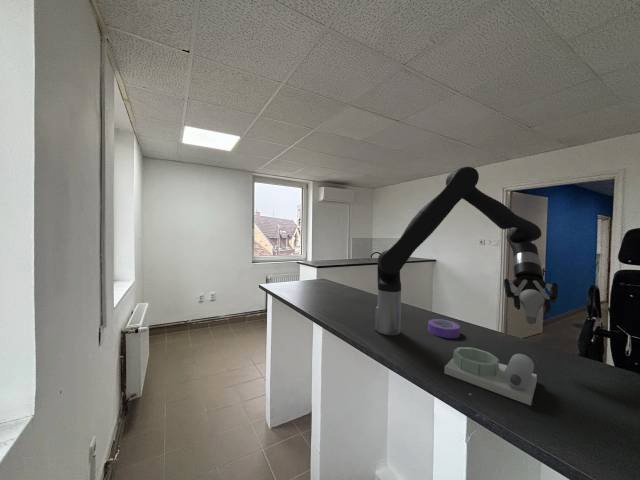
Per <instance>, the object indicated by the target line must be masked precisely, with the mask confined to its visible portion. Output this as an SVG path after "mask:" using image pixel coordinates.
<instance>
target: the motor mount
mask: <svg viewBox="0 0 640 480" xmlns="http://www.w3.org/2000/svg"><path fill="white" fill-rule="evenodd" d="M452 352H453V353H452V354H453V357H452V358H451V360H449V361H448V362H447V363H446V364H445V366H444V370H443V371H444V374H445V375H447V376H451V377H453V378H455V379H458V380H461V381H463V382H465V383H468V384H471V385H475V386H477V387H479V388H482V389H485V390H487V391H490V392H493V393H496V394H498V395H500V396H503V397H507V398H509V399H512V400H515V401H516V402H517V401H518V402H520V403H522V404H525V405H527V406H530V407H531V406H532V402H533V399H534V393H535V391H536V387H537V382H538V381H537V380H538V374H536V373H533V372H534V369H535V365H534V361H533V360H532V359H531V358H530V357H529V356H527V355H525V354H523V353H515V354H513V355H512V356H511V358H510V360H509V362H508V363H507V364H503V363H500V360H499V358H498V357H497V356H495V355H494V354H492V353H491V352H490V351H489V352H488V351H486V350H482V349H479V348H475V347H471V346H470V347H467V346H466V347H465V346H464V347H463V346H461V347H460V346H458V347H457V348H455V349H454V350H453V351H452Z"/></svg>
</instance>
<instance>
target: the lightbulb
mask: <svg viewBox="0 0 640 480" xmlns="http://www.w3.org/2000/svg"><path fill="white" fill-rule="evenodd" d="M519 298H520V305H522V307H523V311H524V315H525V322H526V323H527V324H529V325H534V324H536V323H537V317H539V316H538V315H539V311H540V310H541V309H542V307H543V305H544V302H545V299H544V297H543V295H542V294H541V293H540V292H538V291H536V290H533V289H528V290H524V291H523V292H522V293H521V294H520V296H519Z"/></svg>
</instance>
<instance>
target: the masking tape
mask: <svg viewBox="0 0 640 480" xmlns="http://www.w3.org/2000/svg"><path fill="white" fill-rule="evenodd" d="M427 327H428V328H427V331H428V332H429V334H432V335H433V336H437V337H440V338H445V339H446V338H447V339H456V338H460V335H461V326H460V324H458V323H457V322H456V321H455V322H454V321H451V320H447V319H442V318H439V319H438V318H433V319H429V320H428V323H427Z"/></svg>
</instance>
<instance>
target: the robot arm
mask: <svg viewBox="0 0 640 480" xmlns="http://www.w3.org/2000/svg"><path fill="white" fill-rule="evenodd" d="M479 180H480V179H479V172H478V170H477V169H476V168H474V167H471V166H463V167H460V168H457V169H456V170H454V171H452V172H451V173H450V174H448V176H447V177H446V179H445V187H444V188H443V190H441V192H440V193H438V195H436V196H435V197H434V198H432V199H431V200H430V201H429V202H427V204H425V205H423V207H422V208H421V209H420V210H419V211H418V212H417V213H416V215H414V217H412V219H411V220H410V222H409V223H408V225H407V226H406V228H405V229H404V231H403V233H402V235H401V237H400V238H399V239H398V240H397V241H396V242H395V243H394V244H393V245H392V246H391V247H390V248H389V249H388V250H387V249H386V250H384V251H383V252H381V253H380V254H379V256H378V257H377V276H376V277H377V278H376V279H377V305H376V306H375V309H374V310H375V311H374V313H375V315H374V330H375V331H377V332H378V333H380V334H381V335H386V336H397V335H400V334H401V312H402V307H401V306H402V282H401V270H402V268H403V267H404V266H405V265H406V263H407V261H408V260H409V259H410V257H411V256H412V255H413V253H414V252H415V251H416V250H417V249H418V248H419V247H420V246H421V245H422V244H423V243H424V242H425V241H426V240H427V239H428V238H429V237H430V236H431V235H432V234H433V233H434V232H435V231H436V229H437V228H438V227H439V226H440V225H441V223H442V222H443V221H444V220H445V219H446V217H447V216H448V215H449V214H450V212H452V210H453V209H454V207H455V206H456V205H457V204H458V203H459V202H460V201H461V200H464V201H465V202H467V203H469V204H470V205H471V206H472V207H474V208H476V209H477V211H479V212H481V213H482V214H483V215H484V216H485V217H487V218H488V220H489V221H491V222H492V223H493V224H495V225H496V226H497V227H498V228H499V229H501V230H508V229H512V228H514V229H512V230H510V231H508V232H507V234H506V240H507V242H508V244H509V245H510V247H511V250H512V254H513V261H512V265H513V266H512V269H513V275H514V276H513V277H514V279H513V280H511V279H510V280H509V278H504V279H503V288H504V292H505V296H506V297H507V298H511V299H513V307H514V308H515V309H516V310H521V302H520V298H519V296H520V294H521V293H522V292H523V291H524V290H528V289H533V290H536V291H538V292H540V293H541V294H542V295H543V297H544V299H545V302H544V305H543V306H542V307H543V312H544V313H543V314H549V313H550V311H551V309H552V306H551V303H553V304H555V303H556V302H557V299H558V296H559V295H558V289H559V287H558V285H559V284H558V283H556V282H553V283H547V282H546V281H545V280H544V275H543V269H542V263H541V259H540V257H539V251H538V246H537V245H536V244H535V243H533V242H535V241H536V240H539V239H540V238H541V236H542V230H541V228H540V227H539V226H538V225H536V224H535V223H534V222H532V221H530V220H528V219H526V218H524V217H521V216H519V215H518V214H516V213H515V212H513V211H512V210H511V209H510V208H509V207H507V205H506V204H504V203H502V202H501V201H499V200H497V199H496V198H493V197H492V196H489V195H488V194H486V193H484V192H483V191H482V190H480V189H478V188H477V187H476V186H477V184H478V182H479ZM513 285H514V287H516V290H515V291H514V292H512V286H513ZM545 288H547V290H548V291H549V292H550V296H549V295H548V293H547V292H546V290H545Z"/></svg>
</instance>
